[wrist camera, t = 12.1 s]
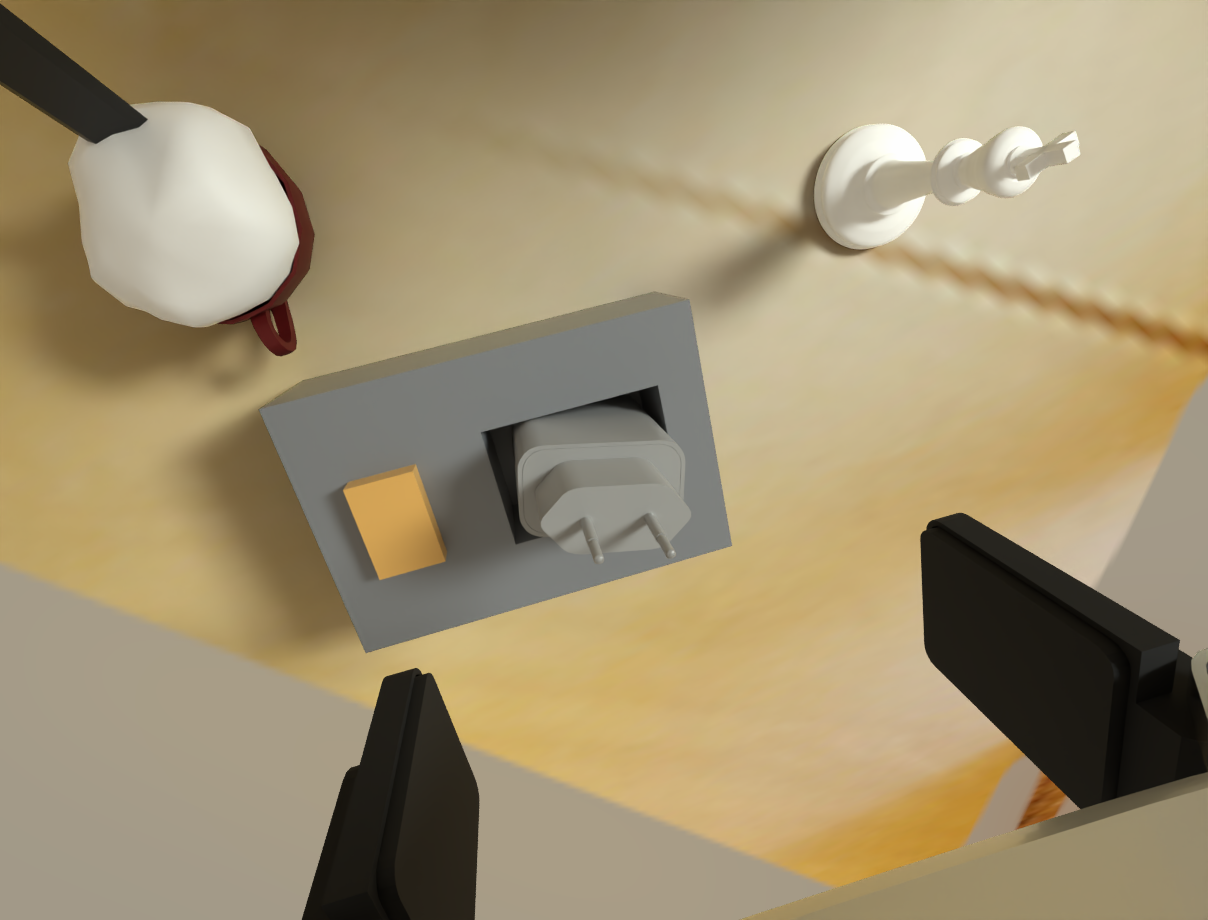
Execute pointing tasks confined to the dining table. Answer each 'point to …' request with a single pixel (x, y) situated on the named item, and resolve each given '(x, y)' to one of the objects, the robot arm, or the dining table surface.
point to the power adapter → (600, 479)
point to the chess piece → (921, 177)
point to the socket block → (482, 463)
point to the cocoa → (170, 198)
